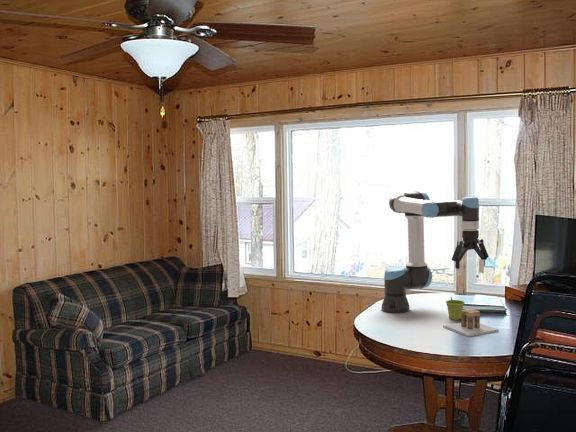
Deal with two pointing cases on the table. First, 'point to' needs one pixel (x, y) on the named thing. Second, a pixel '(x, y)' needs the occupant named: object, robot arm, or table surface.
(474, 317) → the notched wooden block
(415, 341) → the table surface
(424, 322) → the table surface
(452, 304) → the plant pot
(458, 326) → the mat
